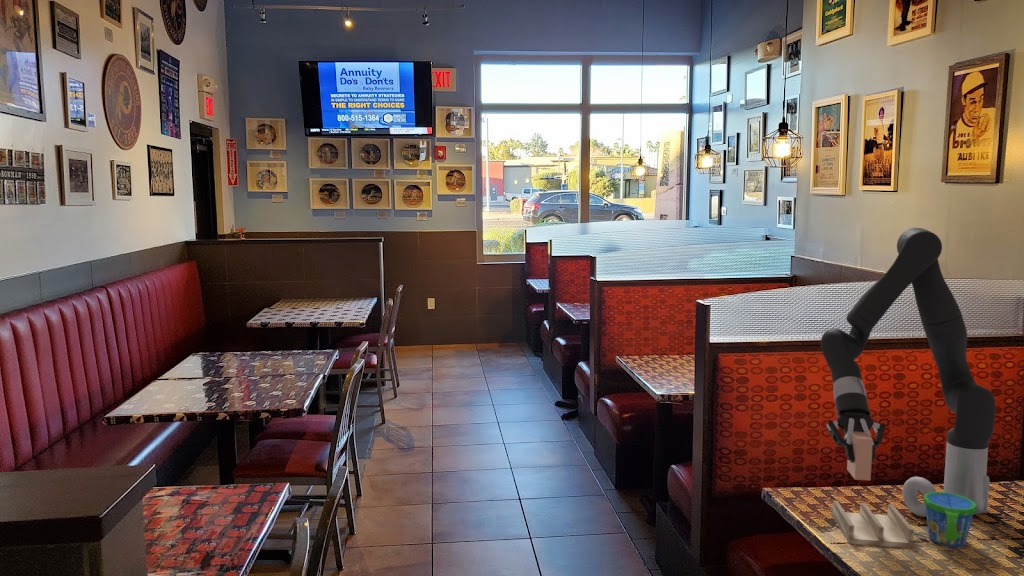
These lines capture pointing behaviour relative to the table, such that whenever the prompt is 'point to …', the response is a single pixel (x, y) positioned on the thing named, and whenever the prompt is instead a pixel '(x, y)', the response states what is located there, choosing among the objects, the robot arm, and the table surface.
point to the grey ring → (911, 494)
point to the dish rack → (874, 527)
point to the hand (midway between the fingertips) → (861, 461)
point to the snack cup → (948, 518)
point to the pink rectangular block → (861, 456)
